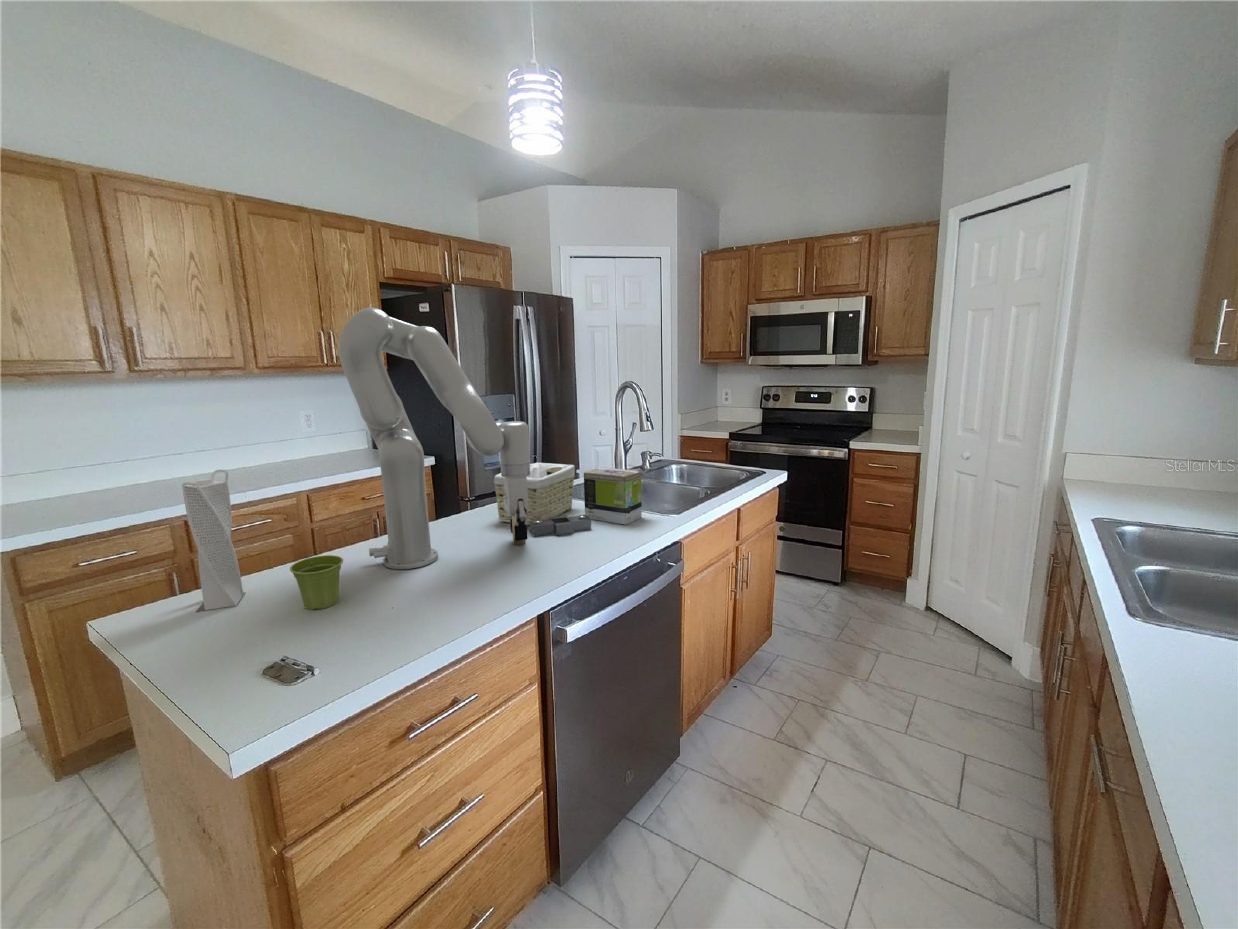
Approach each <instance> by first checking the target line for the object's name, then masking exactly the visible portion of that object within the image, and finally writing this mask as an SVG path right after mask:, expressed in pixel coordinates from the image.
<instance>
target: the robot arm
mask: <svg viewBox="0 0 1238 929" xmlns="http://www.w3.org/2000/svg"><path fill="white" fill-rule="evenodd" d="M382 352H384V353H388V354H390V355H394V356H397V357H400V358H403V359H408V360H411V361H413V362H414V363H415V365H416V366H417V368H418V369H419V371H420V373H421V375H422V376H423V377H424V379H425V381H426V382H427V384H428V385H429V387H430V388H431V390H432V392H433V393H434V394H435V396H436V398H437V399H438V400H439V401H440V403H441V404H442V405H443V406H444V408H446V409H447V410H448V411H449V412H450V413H451V415H452V416H453V418H454V419H455V420H456V422H457V423H458V425H459V426H460V427H461V429H462V430H463V432H464V434H465V437H466V438H465V439H466V441H467V443H468V445H469V447H470V448H472V450H474V451H475V452H476V453H478V454H479V455H481V456H484V457H493V456H495V455H497V454H499V461H500V473H501V476H502V477H505V479H504V490H505V508H506V510H507V512H508V513H509V515H510V516H511V518H512V515H513V514H514V517H515V526H514V531H515V540H516V541H520V540H528V525H527V523H526V514H527V513H528V510H529V505H528V487H527V476H529V475H531V472H530V464H531V454H530V436H529V435H530V434H529V433H530V432H529V425H528V423H526V422H525V421H520V420H519V421H517V420H516V421H515V420H512V421H505V422H496V420H495V419H494V417H493V415H492V414H491V412H490V410H489V408H488V407H487V406H486V405H485V403H484V401H483V399H481V397H480V396H479V394H478V393H477V391H476V389H475V388H474V386H473V384H472V383H471V381H470V380H469V378H468V376H467V375H466V373H465V372H464V370H463V369H462V367H461V365H460V364H459V362H458V360H457V359H456V357H455V355H454V354H453V352H452V351H451V349H450V348H449V346H448V344H447V342H446V341H445V339H444V338H443V337H442V335H441V333H440V332H439V331H438V330H437V329H436V328H434V327H432V326H426V325H421V326H419V325H415V324H412V323H409V322H405V321H403V320H399V319H397V318H395V317H392V316H389V315H388V314H387V313H386V312H385V311H383V310H382V309H380V308H376V307H372V306H371V307H370V306H369V307H363V308H362V309H360V310H358V311H356V312H355V313H354V314H353V315H352V316H351V317H350V318H349V319H348V321H346V323H345V325H344V326H343V328H342V330H341V333H340V336H339V341H338V357H339V361H340V365H341V368H342V370H343V373H344V376H345V377H346V380H347V382H348V385H349V387H350V390H351V392H352V394H353V396H354V398H355V401H356V403H357V405H358V406H357V407H358V408H359V412H360V416H361V418H362V420H364V422H365V424H366V426H367V428H368V431H369V432H370V435H371V437H372V439H373V441H374V443H375V445H376V448H377V451H378V454H379V456H378V457H379V466H380V473H381V474H380V476H381V484H382V493H383V494H382V495H383V502H384V503H383V504H384V512H385V521H386V531H387V532H386V533H387V539H388V541H387V544H386V545H383V546H382V547H372V548H368V554H369V555H368V556H369V557H374V559H378V558H379V559H381V558H383V559H382V561H383V566H384V567H387V568H389V569H392V570H410V569H415V568H416V569H417V568H421V567H424V566H427V565H430V564H432V563H434V562H436V560H437V559H438V558H439V553H438V552H439V551H437V550H436V549H435V548H432V546H431V534H430V522H429V511H428V510H429V509H428V499H427V498H428V497H427V489H426V475H425V474H426V473H425V472H426V471H425V468H426V467H425V453H424V448H423V446H422V444H421V441H420V440H419V438H417V436H416V433H415V431H414V429H413V426H412V424H411V422H410V420H409V418H408V417H409V416H408V415H407V413H406V409H405V408H404V404H403V401H402V400H401V398H400V396H399V395H398V394H397V391H396V389H395V387H394V386H393V382H392V380H391V378H390V376H389V373H388V371H387V368H386V365H385V364H384V361H383V358H382V357H383V356H382ZM517 513H519V514H517ZM517 516H519V518H518V519H517ZM510 533H511V534H512V535H513V527H512V519H510Z"/></svg>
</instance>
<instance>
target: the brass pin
mask: <svg viewBox="0 0 1238 929" xmlns="http://www.w3.org/2000/svg"><path fill="white" fill-rule="evenodd" d="M517 514H519V513H517ZM518 518H519V516H517V519H518ZM514 526H515V517H514V514H513V515H512V527H513V534H512V542H513V543H512V544H513V546H515V547H522V546H525V545H526V544H527V543H526V540H520V541H516V540H515V531H514Z"/></svg>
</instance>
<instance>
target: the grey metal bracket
mask: <svg viewBox="0 0 1238 929" xmlns="http://www.w3.org/2000/svg"><path fill="white" fill-rule="evenodd" d="M590 530H592V519H590V518H589V517H588V516H587V515H585V514H579V515H573V516H566V515H565V514H564V515H558V516H555V517H549V519H545V520H534V521H530V525H529V532H530V533H531V535H532V537H542V536H550V534H551V535H555V534H556V535H555V536H556V537H558V536H559V535H560V536H566V535H567V534H568V535H573V533H574V532H581V531H582V532H583V531H590Z"/></svg>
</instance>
